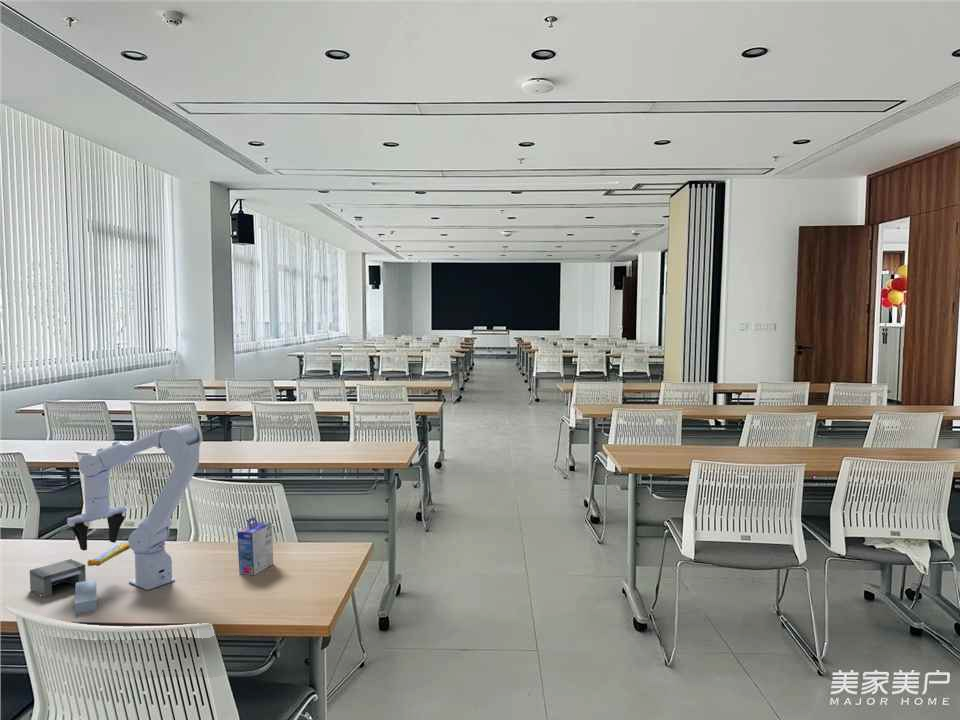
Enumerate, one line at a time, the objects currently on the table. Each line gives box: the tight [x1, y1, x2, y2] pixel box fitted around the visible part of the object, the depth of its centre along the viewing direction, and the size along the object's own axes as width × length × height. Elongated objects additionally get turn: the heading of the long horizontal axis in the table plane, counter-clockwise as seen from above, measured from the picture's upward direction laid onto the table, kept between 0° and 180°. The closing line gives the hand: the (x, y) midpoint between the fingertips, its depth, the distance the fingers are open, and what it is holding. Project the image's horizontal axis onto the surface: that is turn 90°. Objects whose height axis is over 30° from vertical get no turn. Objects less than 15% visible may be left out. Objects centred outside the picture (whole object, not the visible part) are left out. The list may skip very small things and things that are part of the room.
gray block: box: [29, 559, 87, 598], centre depth 172 cm, size 9×10×6 cm
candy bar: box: [87, 542, 130, 566], centre depth 198 cm, size 17×4×2 cm, turn 176°
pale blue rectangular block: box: [74, 579, 98, 615], centre depth 164 cm, size 15×4×3 cm, turn 31°
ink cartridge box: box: [236, 516, 274, 576], centre depth 186 cm, size 10×6×14 cm, turn 165°
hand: (98, 545), depth 178 cm, fingers open, 7 cm apart
